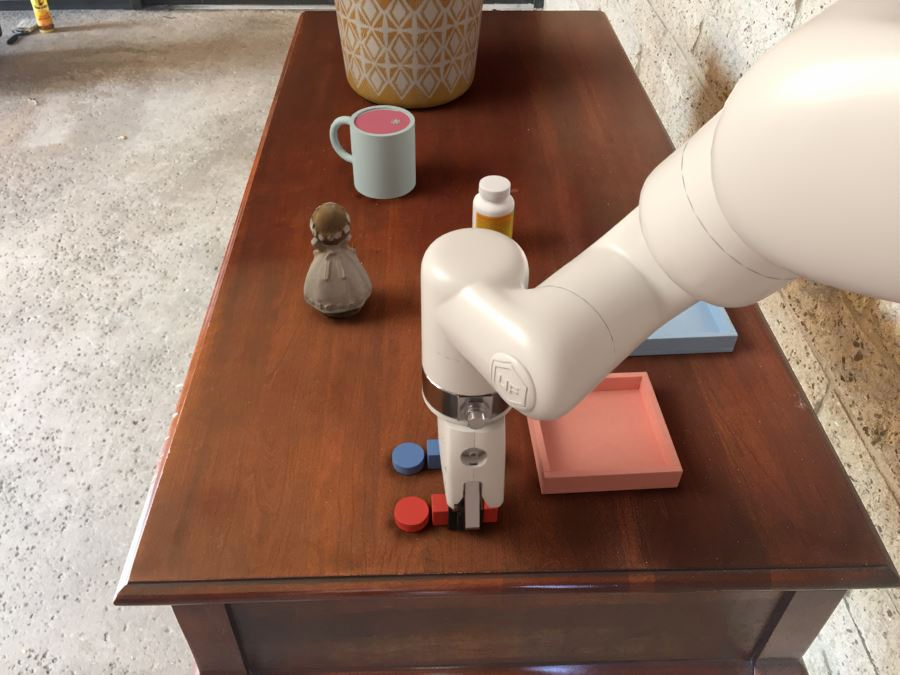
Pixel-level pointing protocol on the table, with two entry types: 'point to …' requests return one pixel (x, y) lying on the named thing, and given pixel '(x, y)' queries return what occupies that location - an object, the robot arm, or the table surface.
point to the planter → (409, 49)
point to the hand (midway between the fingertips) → (463, 513)
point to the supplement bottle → (494, 205)
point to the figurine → (335, 266)
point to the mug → (380, 150)
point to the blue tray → (692, 333)
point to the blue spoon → (415, 457)
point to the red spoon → (416, 512)
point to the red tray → (607, 441)
